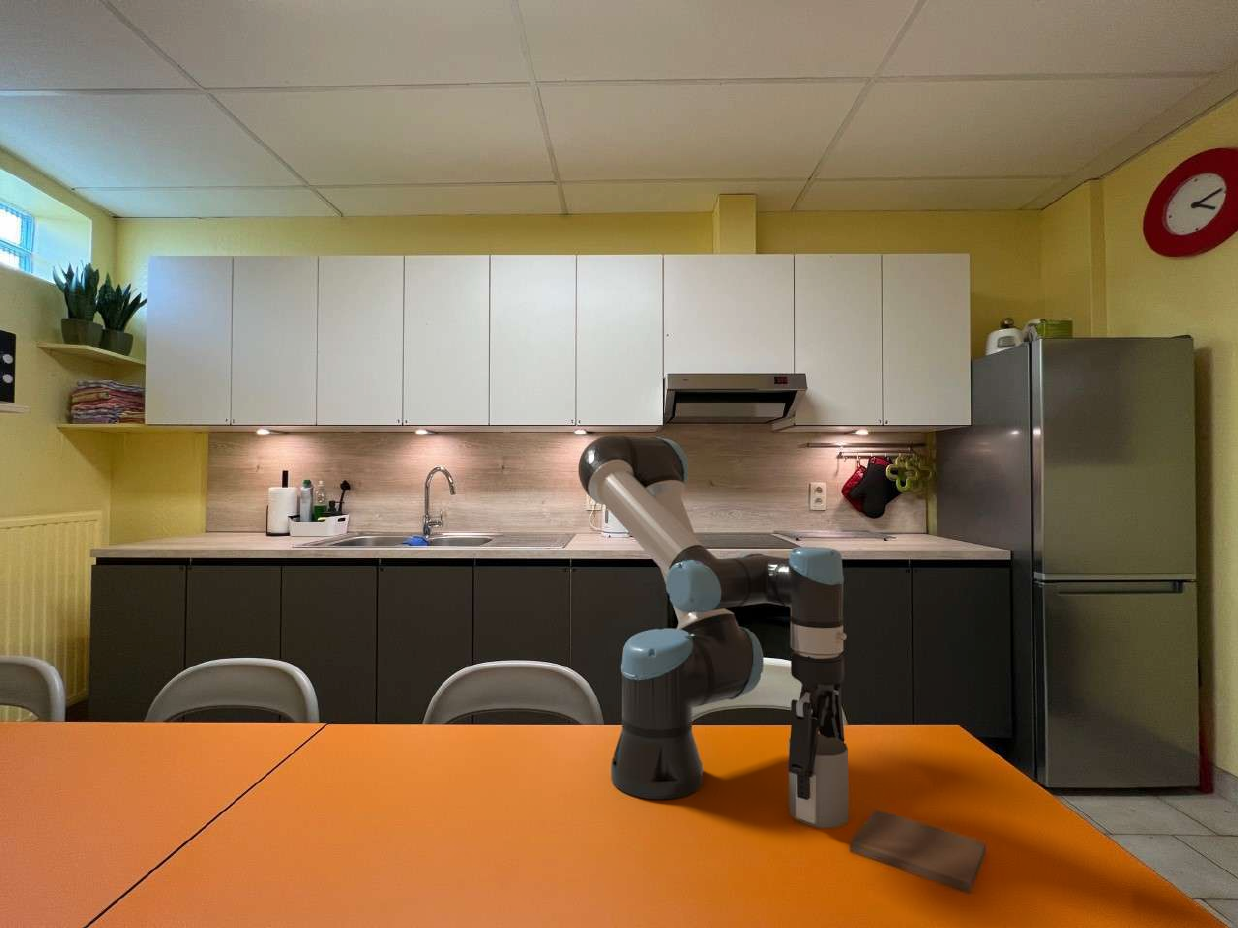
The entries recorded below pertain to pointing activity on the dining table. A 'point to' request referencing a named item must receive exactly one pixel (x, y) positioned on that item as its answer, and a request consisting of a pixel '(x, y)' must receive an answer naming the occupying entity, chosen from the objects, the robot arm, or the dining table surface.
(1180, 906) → the dining table surface
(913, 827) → the walnut board
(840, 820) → the cup
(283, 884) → the dining table surface
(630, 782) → the robot arm
